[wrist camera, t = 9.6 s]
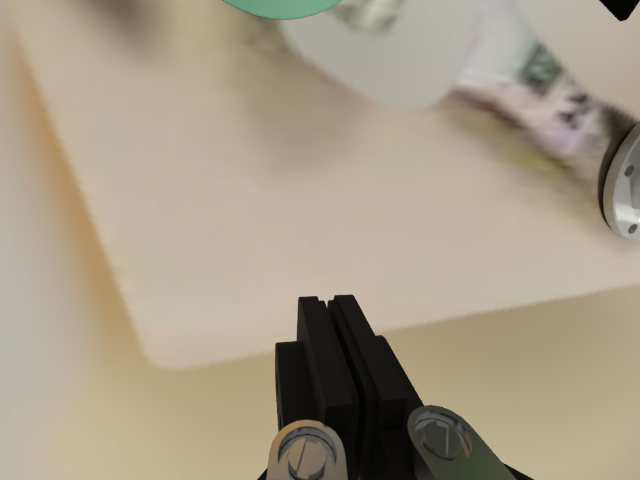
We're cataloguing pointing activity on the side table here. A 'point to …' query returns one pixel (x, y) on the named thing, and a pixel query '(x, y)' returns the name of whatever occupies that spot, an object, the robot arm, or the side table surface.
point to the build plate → (620, 7)
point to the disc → (283, 7)
